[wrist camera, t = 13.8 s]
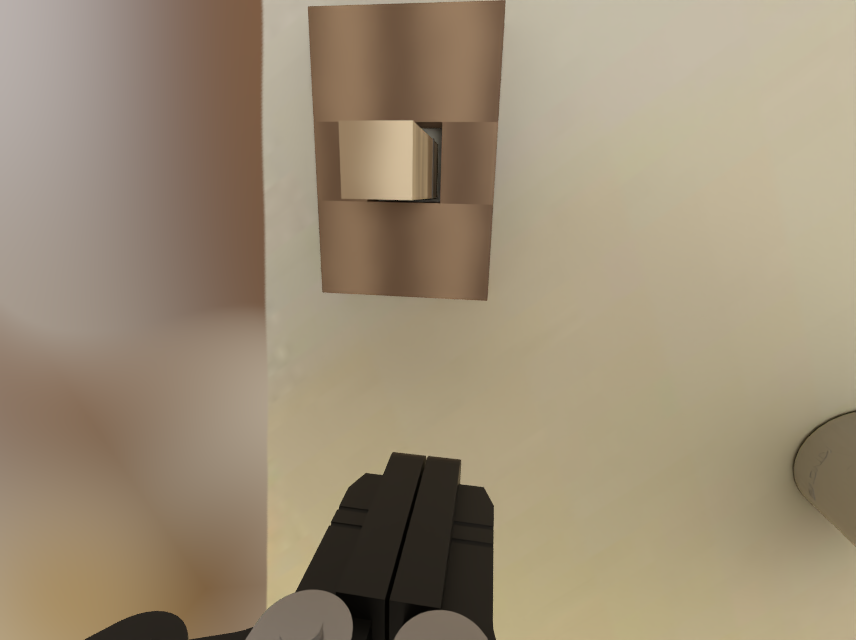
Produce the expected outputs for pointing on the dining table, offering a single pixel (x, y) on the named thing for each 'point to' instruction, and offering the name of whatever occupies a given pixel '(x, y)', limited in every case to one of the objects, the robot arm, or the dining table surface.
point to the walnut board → (429, 108)
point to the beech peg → (387, 160)
